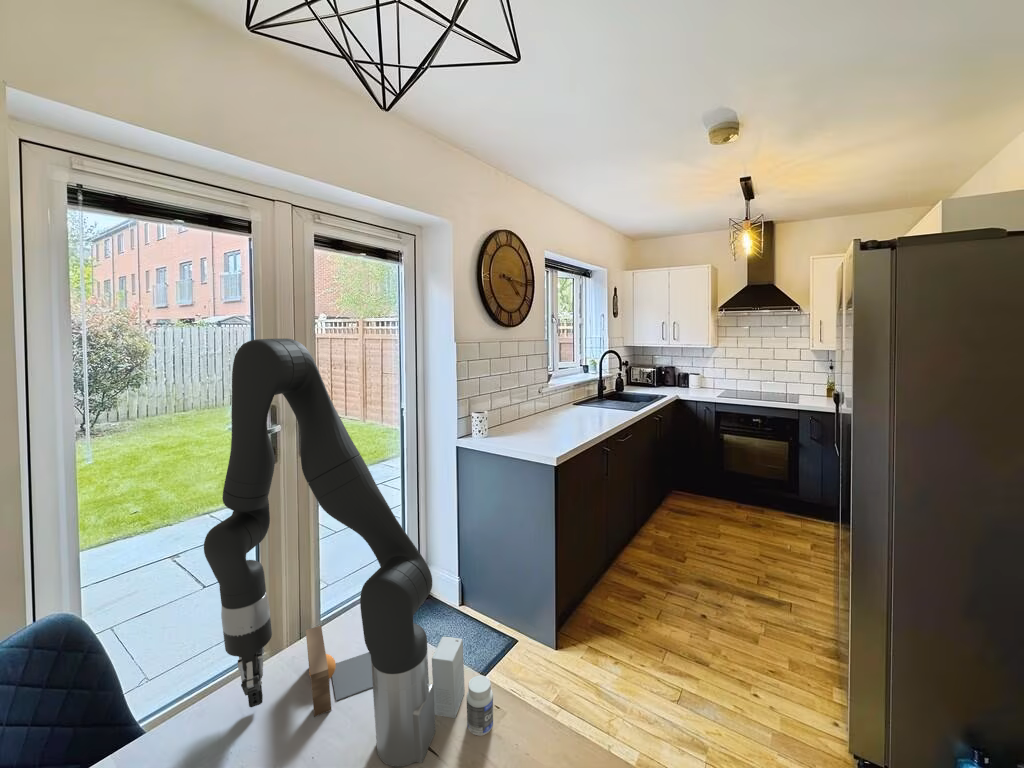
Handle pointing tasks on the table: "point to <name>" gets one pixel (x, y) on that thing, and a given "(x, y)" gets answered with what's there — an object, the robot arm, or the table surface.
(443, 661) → the skincare box
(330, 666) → the ball
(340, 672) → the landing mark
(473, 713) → the pill bottle
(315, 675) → the bridge
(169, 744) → the table surface
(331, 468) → the robot arm
